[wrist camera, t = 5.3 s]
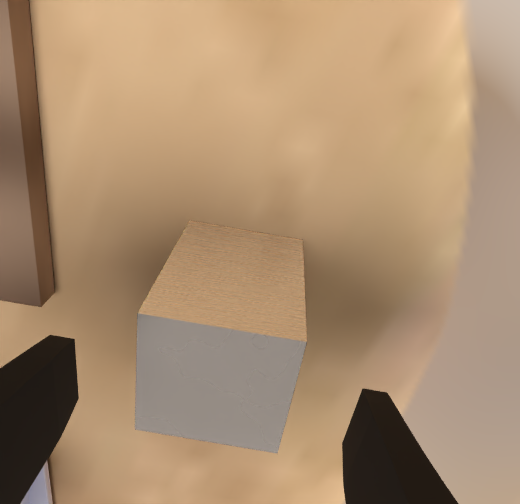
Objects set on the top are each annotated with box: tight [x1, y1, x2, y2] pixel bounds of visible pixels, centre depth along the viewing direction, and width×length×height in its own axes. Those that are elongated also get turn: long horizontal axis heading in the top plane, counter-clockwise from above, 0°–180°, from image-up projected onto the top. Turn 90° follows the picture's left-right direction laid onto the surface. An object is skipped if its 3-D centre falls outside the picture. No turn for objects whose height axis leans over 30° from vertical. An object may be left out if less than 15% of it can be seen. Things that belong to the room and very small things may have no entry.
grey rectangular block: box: [135, 220, 307, 453], centre depth 13 cm, size 4×4×6 cm
